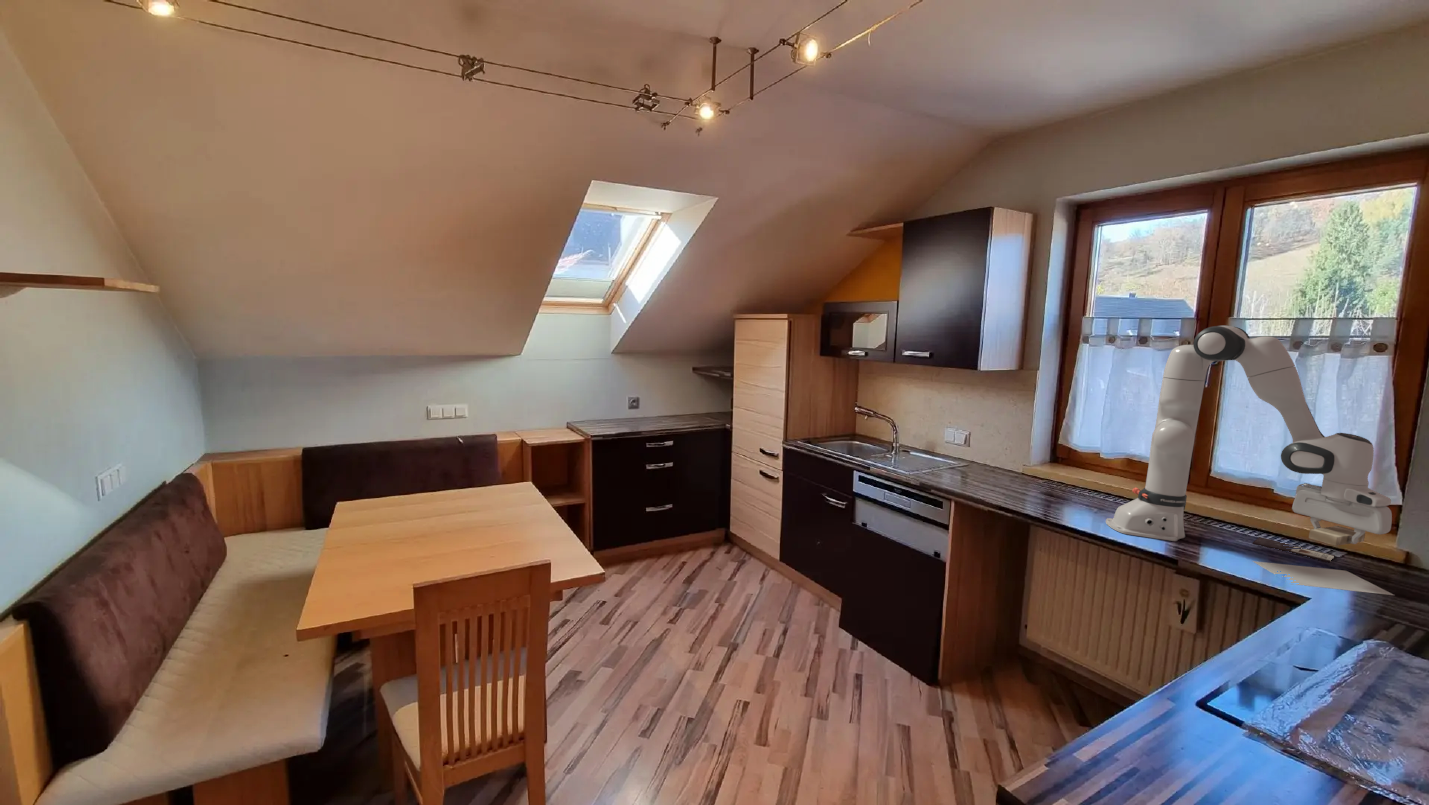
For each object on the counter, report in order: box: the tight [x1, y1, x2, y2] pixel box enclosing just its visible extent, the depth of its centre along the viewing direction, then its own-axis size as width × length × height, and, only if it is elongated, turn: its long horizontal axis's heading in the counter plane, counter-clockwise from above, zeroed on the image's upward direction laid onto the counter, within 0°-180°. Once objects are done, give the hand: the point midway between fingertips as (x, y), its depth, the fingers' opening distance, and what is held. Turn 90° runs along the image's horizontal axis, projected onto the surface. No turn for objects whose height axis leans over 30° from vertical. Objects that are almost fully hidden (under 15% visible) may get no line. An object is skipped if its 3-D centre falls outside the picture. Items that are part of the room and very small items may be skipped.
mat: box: [1252, 560, 1394, 596], centre depth 171 cm, size 24×16×1 cm, turn 79°
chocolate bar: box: [1252, 536, 1336, 564], centre depth 193 cm, size 9×1×18 cm
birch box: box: [1308, 525, 1366, 547], centre depth 171 cm, size 3×6×13 cm
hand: (1334, 538), depth 170 cm, fingers closed on birch box, 6 cm apart
